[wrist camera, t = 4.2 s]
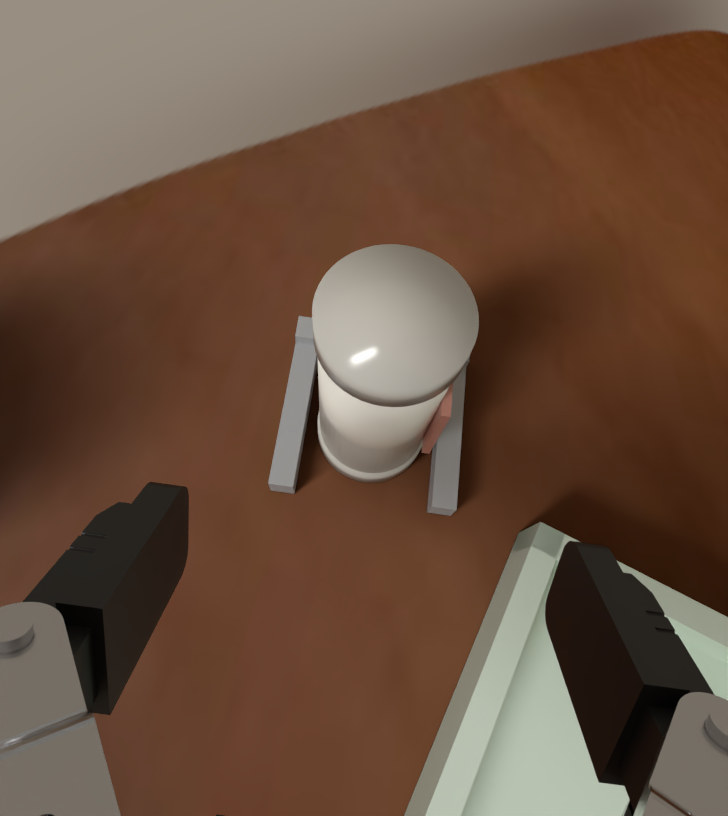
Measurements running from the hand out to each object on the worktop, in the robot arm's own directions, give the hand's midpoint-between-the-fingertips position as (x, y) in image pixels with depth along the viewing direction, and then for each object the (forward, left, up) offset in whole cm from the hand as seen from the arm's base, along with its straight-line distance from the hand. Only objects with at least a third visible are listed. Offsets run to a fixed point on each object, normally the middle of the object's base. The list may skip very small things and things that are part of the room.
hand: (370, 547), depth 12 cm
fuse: (-6, -2, -11) cm, 13 cm away
